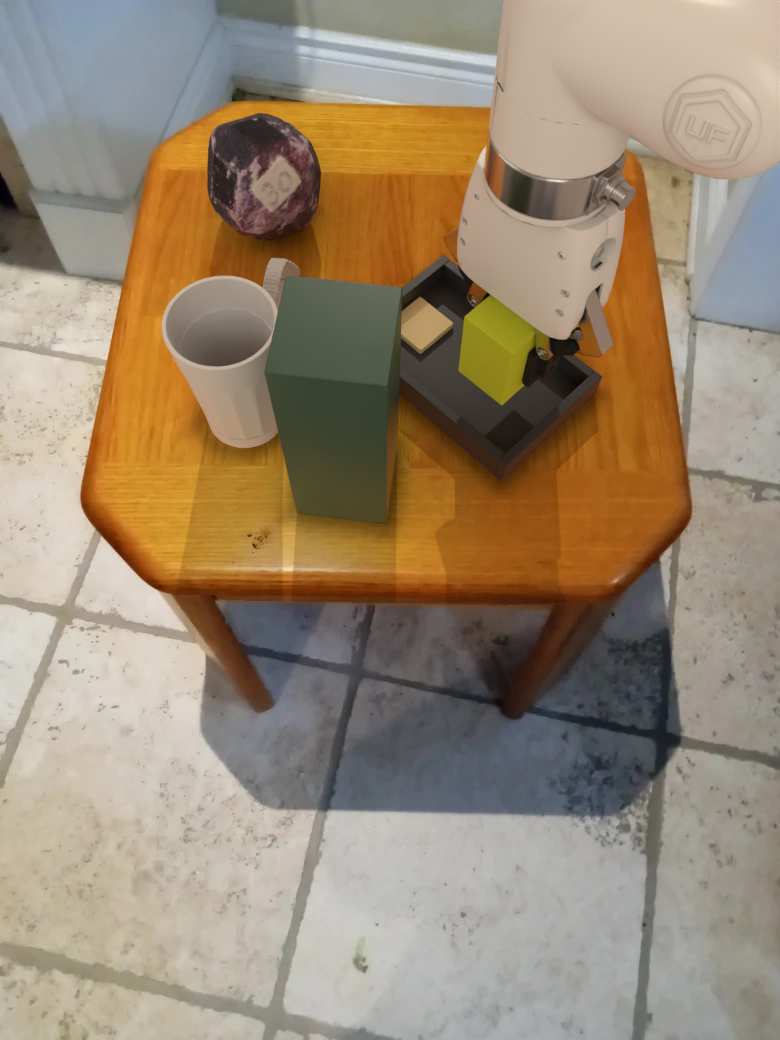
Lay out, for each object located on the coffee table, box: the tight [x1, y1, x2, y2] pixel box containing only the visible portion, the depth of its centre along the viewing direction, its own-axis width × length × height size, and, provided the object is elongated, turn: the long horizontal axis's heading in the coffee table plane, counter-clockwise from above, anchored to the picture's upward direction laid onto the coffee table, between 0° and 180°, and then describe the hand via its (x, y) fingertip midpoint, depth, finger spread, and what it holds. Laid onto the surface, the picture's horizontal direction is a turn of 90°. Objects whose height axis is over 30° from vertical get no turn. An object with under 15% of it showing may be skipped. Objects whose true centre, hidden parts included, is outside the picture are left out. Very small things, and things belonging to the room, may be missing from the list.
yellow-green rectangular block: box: [458, 295, 536, 405], centre depth 60 cm, size 4×7×6 cm, turn 135°
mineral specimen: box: [206, 112, 322, 241], centre depth 71 cm, size 10×10×10 cm
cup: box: [161, 275, 278, 449], centre depth 61 cm, size 8×8×12 cm
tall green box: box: [264, 275, 403, 525], centre depth 56 cm, size 7×7×19 cm
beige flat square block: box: [401, 297, 453, 354], centre depth 69 cm, size 4×4×1 cm
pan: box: [399, 254, 603, 483], centre depth 67 cm, size 18×12×3 cm, turn 45°
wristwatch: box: [261, 257, 301, 310], centre depth 69 cm, size 3×5×5 cm, turn 168°
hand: (512, 352), depth 62 cm, fingers closed on yellow-green rectangular block, 4 cm apart
